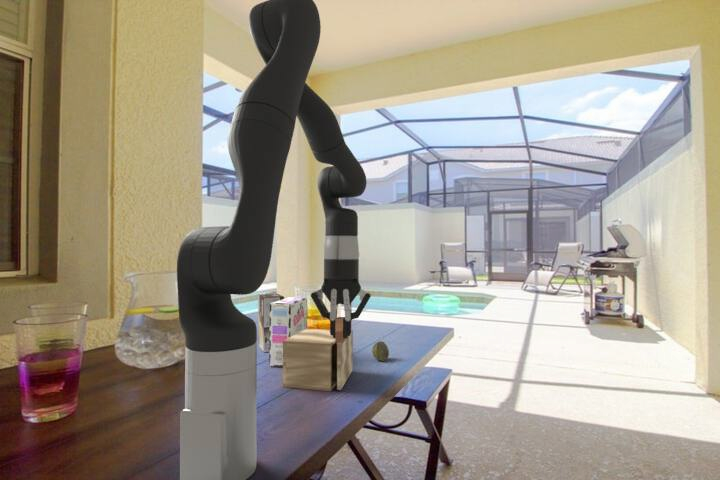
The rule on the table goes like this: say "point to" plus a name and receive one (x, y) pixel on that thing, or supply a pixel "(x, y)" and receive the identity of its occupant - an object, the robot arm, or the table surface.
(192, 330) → the robot arm
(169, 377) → the table surface
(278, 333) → the candy box
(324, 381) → the carton
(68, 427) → the table surface
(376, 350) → the lime
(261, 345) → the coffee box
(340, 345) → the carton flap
